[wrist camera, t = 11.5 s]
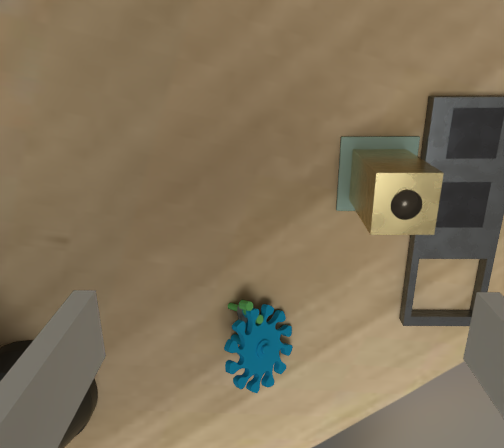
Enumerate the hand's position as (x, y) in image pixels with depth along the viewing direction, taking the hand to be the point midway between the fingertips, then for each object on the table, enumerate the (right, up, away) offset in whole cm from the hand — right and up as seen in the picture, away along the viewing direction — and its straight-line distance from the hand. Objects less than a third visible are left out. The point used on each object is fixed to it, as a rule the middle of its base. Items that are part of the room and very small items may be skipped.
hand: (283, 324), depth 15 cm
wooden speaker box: (+12, +9, +31) cm, 34 cm away
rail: (+21, +4, +33) cm, 39 cm away
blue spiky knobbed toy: (0, -9, +39) cm, 40 cm away
